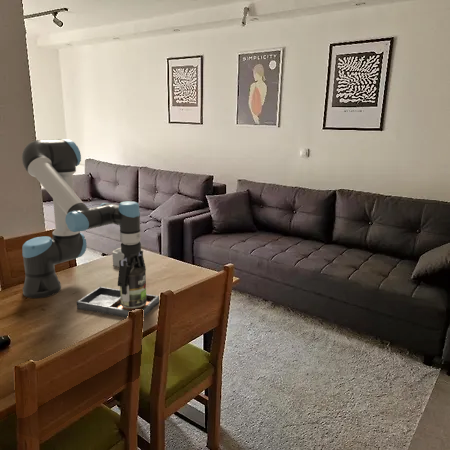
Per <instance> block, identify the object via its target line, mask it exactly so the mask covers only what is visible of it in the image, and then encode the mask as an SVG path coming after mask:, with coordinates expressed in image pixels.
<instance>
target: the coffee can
mask: <svg viewBox="0 0 450 450" xmlns="http://www.w3.org/2000/svg"><path fill="white" fill-rule="evenodd" d="M129 267H130V266H129ZM145 268H146V267H145ZM145 268H144V267H142V266H141V267H140V268H138V267H134V266H133V268H132V269H131V272H130V274H129V275H126V276H128V280H129V281H128V285H129V297H130V301H129V302H126V301H122V287H121V286H119V290H120V296H121V306H123V307H125V308H131V309H132V308H139V307H142V306H144V305H145V304H146V303H147V299H146V294H147V275H146V270H147V268H146V269H145Z"/></svg>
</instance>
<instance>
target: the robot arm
mask: <svg viewBox="0 0 450 450" xmlns="http://www.w3.org/2000/svg"><path fill="white" fill-rule="evenodd" d="M21 161H22V166H23V167H24V170H25V171H26V172H27V173H28V174H29V175H30V176H31V177H33V178H35V179H36V180H37V181H38V182H39V184H40V185H41V186H42V187H43V188H44V189H45V191H46V192H47V193H48V194H49V195H50V197H51V198H52V202H53V212H54V213H53V214H54V225H55V226H54V228H55V229H54V230H53V231H52V232H51V233H52V237H51V236H45V235H44V236H43V235H42V236H37V237H33V238H31V239H28V240H26V241H25V242H24V243H23V244H22V248H21V249H22V253H21V254H22V255H21V256H22V257H23V258H22V260H23V267H24V273H25V278H24V282H23V287H22V294H23V296H24V297H26V298H29V299H41V298H47V297H50V296H53V295H56V294H58V293H59V292H60V291H61V290H62V285H61V284H62V283H61V281H60V280H59V278H58V276H57V273H56V270H55V269H56V268H55V266H56V265H59V264H62V263H65V262H69V261H72V260H76V259H78V258H80V257H83V256H84V254H85V253H86V250H87V246H88V245H87V239H86V238H85V235H84V233H82V232H84V231H88V230H90V229H95V228H99V227H103V226H107V225H115V226H116V225H117V226H119V232H120V233H119V236H120V237H119V238H120V247H121V252H122V253H123V254H124V259H123V260H120V261H119V267H118V278H117V286H118V287H120V286H121V287H122V301H126V302H129V301H130V297H129V285H128V281H129V280H128V276H126V275H129V274H130V272H131V269H132V268H133V265H134V267H138V268H140V267H141V266H142V267H144V268H145V269H146V270H147V268H146V263H145V259H144V258H145V257H144V251H143V250H142V242H141V237H142V235H141V216H140V215H141V211H140V204H139V203H138V202H136V201H129V200H128V201H121V202H120V203H118V204H114V203H112V202H102V203H101V204H99V205H98V206H94V207H88V206H87V204H85V203H84V201H82V199H80V197H79V196H78V195H77V194H76V193H77V192H75V190H74V178H73V175H74V174H75V173H76V172H77V168H76V167H79V165H80V163H81V161H82V154H81V151H80V148H79V147H78V145H77V144H76V142H75V141H73V140H72V139H65V138H56V139H36V140H33V141H30V142H29V143H28V144H27V145H25V147H24V148H23V150H22V153H21ZM129 266H130V267H129Z"/></svg>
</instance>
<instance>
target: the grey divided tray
mask: <svg viewBox="0 0 450 450" xmlns="http://www.w3.org/2000/svg"><path fill="white" fill-rule="evenodd" d="M146 299H147V303H146V304H145V305H144V306H142V307H139V308H132V309H131V308H125V307H123V306H121V296H120V288H112V287H106V286H98V287H97V288H95V289H94V290H92V291H91V292H90V293H88V294H86V295H84V296H83V297H81V298H80V299H79V300H76V309H77V310H82V311H83V310H84V311H88V312H93V313H99V314H104V315H110V316H115V317H121V318H126V317H127V316H128V312H129V311H132V310H135V309H143V310H144V317H143V318H145V317H146V316H147V315H148V314H149V313H150V312H151V311H152V310H153V309H154V308H155V307H157V305H158V304H160V296H159V295H155V294H148V293H146Z"/></svg>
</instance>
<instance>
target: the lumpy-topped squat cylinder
mask: <svg viewBox="0 0 450 450" xmlns="http://www.w3.org/2000/svg"><path fill="white" fill-rule="evenodd" d="M111 256H112V265H113V266H114V267H117V268H119V261H120V260H123V259H124V254H123V253H122V252H121V246H120V247H118V248H116V249H114V250H112V255H111ZM133 266H134V265H133Z"/></svg>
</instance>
